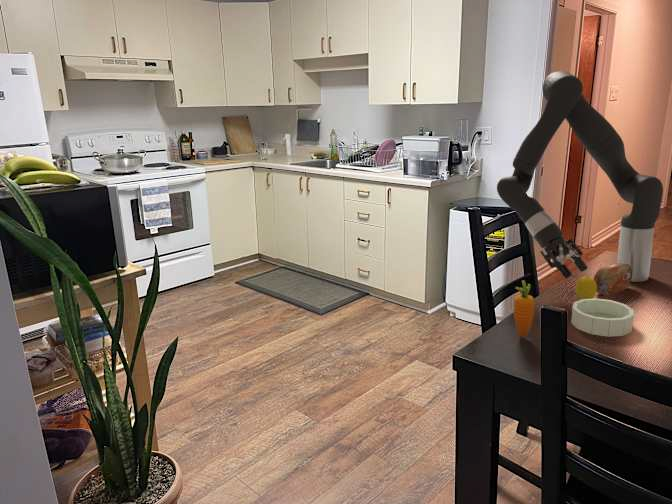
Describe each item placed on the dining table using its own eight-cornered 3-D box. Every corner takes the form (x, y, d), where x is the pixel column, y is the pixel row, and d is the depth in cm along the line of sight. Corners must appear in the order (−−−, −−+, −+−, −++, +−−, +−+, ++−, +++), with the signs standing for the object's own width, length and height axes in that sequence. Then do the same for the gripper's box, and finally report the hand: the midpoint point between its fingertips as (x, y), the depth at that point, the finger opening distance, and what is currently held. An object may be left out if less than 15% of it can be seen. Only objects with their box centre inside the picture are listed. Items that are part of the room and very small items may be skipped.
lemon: (597, 305, 145) (600, 278, 143) (576, 304, 147) (579, 278, 144) (592, 298, 151) (594, 272, 148) (572, 297, 152) (574, 272, 150)
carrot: (530, 343, 125) (533, 286, 121) (509, 339, 128) (512, 284, 124) (534, 335, 129) (538, 280, 125) (514, 332, 132) (517, 277, 128)
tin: (599, 298, 150) (602, 271, 148) (590, 295, 153) (592, 268, 151) (631, 287, 157) (634, 262, 154) (622, 285, 159) (624, 259, 157)
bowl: (592, 309, 142) (593, 294, 141) (643, 326, 131) (645, 310, 130) (560, 322, 136) (561, 307, 134) (610, 341, 124) (612, 324, 123)
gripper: (538, 226, 147) (573, 272, 142) (565, 218, 155) (599, 261, 150) (521, 240, 153) (554, 285, 147) (548, 232, 161) (580, 274, 155)
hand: (577, 273), depth 149 cm, fingers open, 8 cm apart
